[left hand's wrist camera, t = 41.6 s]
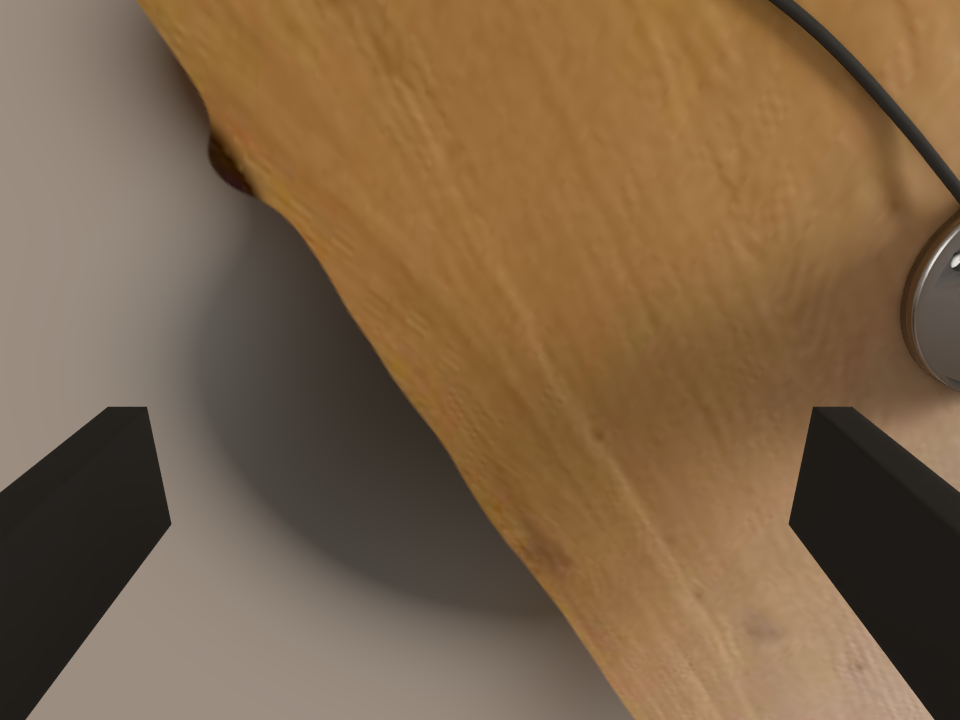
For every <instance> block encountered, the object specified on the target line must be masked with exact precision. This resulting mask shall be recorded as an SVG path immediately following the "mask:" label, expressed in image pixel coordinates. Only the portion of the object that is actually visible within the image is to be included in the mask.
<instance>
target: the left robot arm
mask: <svg viewBox="0 0 960 720" xmlns="http://www.w3.org/2000/svg"><path fill="white" fill-rule="evenodd" d="M769 1H770V2H772V3H773V4H774V5H775V6H777V7H778V8H779V9H780V10H782V11H783V12H784V13H785V14H787V15H788V16H789V17H790V18H792V19H793V20H794V21H795V22H797V23H798V24H799V25H800V26H801V27H802V28H804V29H805V30H806V31H807V32H808V33H809V34H810V35H811V36H813V37H814V38H815V39H816V40H817V41H818V42H819V43H820V44H821V45H822V46H823V47H824V48H825V49H826V50H827V51H828V52H829V53H830V54H831V55H832V56H834V57H835V58H836V59H837V60H838V61H839V62H840V63H841V64H842V66H843V67H844V68H845V69H846V70H847V71H848V72H849V73H850V74H851V75H852V76H853V77H854V78H855V79H856V80H857V81H858V82H859V83H860V84H861V86H862V87H863V88H864V89H865V90H866V91H867V92H868V93H869V94H870V95H871V97H872V98H873V99H874V100H875V101H876V102H877V103H878V105H879V106H880V107H881V108H882V109H883V110H884V111H885V113H886V114H887V115H888V116H889V117H890V118H891V119H892V121H893V122H894V123H895V124H896V125H897V126H898V128H899V129H900V130H901V131H902V132H903V133H904V135H905V136H906V137H907V138H908V139H909V141H910V142H911V143H912V144H913V145H914V147H915V148H916V149H917V150H918V152H919V153H920V154H921V156H922V157H923V158H924V159H925V161H926V162H927V163H928V164H929V166H930V167H931V168H932V170H933V171H934V172H935V173H936V175H937V176H938V177H939V178H940V180H941V181H942V182H943V183H944V185H945V186H946V187H947V188H948V190H949V191H950V192H951V194H952V195H953V196H954V197H955V199H956V200H957V201H958V202H959V204H960V181H959V180H958V179H957V177H956V176H955V175H954V174H953V172H952V171H951V170H950V169H949V167H948V166H947V165H946V163H945V162H944V161H943V160H942V158H941V157H940V156H939V155H938V153H937V152H936V151H935V149H934V148H933V147H932V146H931V144H930V143H929V142H928V141H927V139H926V138H925V137H924V136H923V134H922V133H921V132H920V131H919V130H918V128H917V127H916V126H915V125H914V124H913V122H912V121H911V120H910V119H909V118H908V117H907V115H906V114H905V113H904V112H903V111H902V110H901V108H900V107H899V106H898V105H897V104H896V103H895V101H894V100H893V99H892V98H891V97H890V96H889V94H888V93H887V92H886V91H885V90H884V89H883V88H882V86H881V85H880V84H879V83H878V82H877V81H876V80H875V79H874V77H873V76H872V75H871V74H870V73H869V72H868V71H867V70H866V69H865V68H864V67H863V66H862V64H861V63H860V62H859V61H858V60H857V59H856V58H855V57H854V56H853V55H852V54H851V53H850V52H849V51H848V50H847V49H846V48H845V47H844V46H843V45H842V44H841V43H840V42H839V41H838V40H837V39H836V38H835V37H834V36H833V35H832V34H831V33H830V32H829V31H828V30H827V29H825V28H824V27H823V26H822V25H821V24H820V23H819V22H818V21H817V20H816V19H814V18H813V17H812V16H811V15H810V14H809V13H807V12H806V11H805V10H804V9H803V8H801V7H800V6H799V5H798V4H797V3H795V2H794V1H793V0H769ZM901 328H902V333H903V337H904V340H905V343H906V346H907V348H908V350H909V352H910V354H911V355H912V357H913V358H914V360H915V361H916V362H917V364H918V365H919V366H920V367H921V368H922V369H923V370H924V371H925V372H927V373H928V374H929V375H931V376H932V377H934V378H935V379H937V380H939V381H940V382H942V383H944V384H945V385H947V386H949V387H951V388H952V389H954V390H956V391H958V392H960V210H959V211H958V212H957V213H955V214H954V215H953V216H952V217H951V218H949V219H948V220H947V221H946V222H945V223H944V224H943V225H942V226H941V227H940V228H939V229H938V230H937V231H936V233H935V234H934V235H933V236H932V237H931V238H930V240H929V241H928V242H927V244H926V245H925V246H924V248H923V249H922V251H921V252H920V254H919V255H918V257H917V259H916V261H915V263H914V265H913V266H912V269H911V271H910V273H909V276H908V278H907V281H906V284H905V287H904V291H903V296H902V302H901ZM170 525H171V520H170V515H169V510H168V506H167V501H166V496H165V491H164V487H163V482H162V477H161V472H160V467H159V462H158V458H157V453H156V448H155V443H154V439H153V434H152V429H151V424H150V420H149V415H148V410H147V407H107V408H106V409H105V410H103V411H102V412H101V413H100V414H98V415H97V416H96V417H95V418H93V419H92V420H91V421H90V422H88V423H87V424H86V425H85V426H83V427H82V428H81V429H80V430H78V431H77V432H76V433H75V434H73V435H72V436H71V437H69V438H68V439H67V440H66V441H64V442H63V443H62V444H61V445H59V446H58V447H57V448H56V449H54V450H53V451H52V452H51V453H49V454H48V455H47V456H46V457H44V458H43V459H42V460H41V461H39V462H38V463H37V464H36V465H34V466H33V467H32V468H31V469H29V470H28V471H27V472H25V473H24V474H23V475H22V476H20V477H19V478H18V479H17V480H15V481H14V482H13V483H12V484H10V485H9V486H8V487H7V488H5V489H4V490H3V491H2V492H0V720H26V718H27V717H28V716H29V714H30V713H31V711H32V710H33V709H34V708H35V706H36V705H37V704H38V702H39V701H40V699H41V698H42V697H43V695H44V694H45V693H46V691H47V690H48V689H49V687H50V686H51V685H52V683H53V682H54V681H55V679H56V678H57V677H58V675H59V674H60V673H61V671H62V670H63V669H64V667H65V666H66V665H67V663H68V662H69V661H70V659H71V658H72V657H73V655H74V654H75V653H76V651H77V650H78V648H79V647H80V646H81V645H82V643H83V642H84V640H85V639H86V638H87V637H88V635H89V634H90V632H91V631H92V630H93V628H94V627H95V626H96V624H97V623H98V622H99V620H100V619H101V618H102V616H103V615H104V614H105V612H106V611H107V610H108V608H109V607H110V606H111V604H112V603H113V602H114V600H115V599H116V598H117V596H118V595H119V594H120V592H121V591H122V590H123V588H124V587H125V586H126V584H127V583H128V582H129V580H130V579H131V578H132V576H133V575H134V574H135V572H136V571H137V570H138V568H139V567H140V566H141V564H142V563H143V561H144V560H145V559H146V557H147V556H148V555H149V554H150V552H151V551H152V549H153V548H154V547H155V545H156V544H157V543H158V541H159V540H160V539H161V537H162V536H163V535H164V533H165V532H166V531H167V529H168V528H169V527H170ZM789 525H790V527H791V528H792V529H793V531H794V532H795V533H796V535H797V536H798V537H799V539H800V540H801V541H802V543H803V544H804V545H805V547H806V548H807V549H808V551H809V552H810V554H811V555H812V556H813V558H814V559H815V560H816V562H817V563H818V564H819V566H820V567H821V568H822V570H823V571H824V572H825V574H826V575H827V576H828V578H829V579H830V580H831V582H832V583H833V584H834V586H835V587H836V588H837V590H838V591H839V592H840V594H841V595H842V596H843V598H844V599H845V600H846V602H847V603H848V604H849V606H850V607H851V608H852V610H853V611H854V612H855V614H856V615H857V616H858V618H859V619H860V620H861V622H862V623H863V624H864V626H865V627H866V629H867V630H868V631H869V633H870V634H871V635H872V637H873V638H874V639H875V641H876V642H877V643H878V645H879V646H880V647H881V649H882V650H883V651H884V653H885V654H886V655H887V657H888V658H889V659H890V661H891V662H892V663H893V665H894V666H895V667H896V669H897V670H898V671H899V673H900V674H901V675H902V677H903V678H904V679H905V681H906V682H907V683H908V685H909V686H910V687H911V689H912V690H913V691H914V693H915V694H916V695H917V697H918V698H919V699H920V701H921V702H922V704H923V705H924V706H925V708H926V709H927V710H928V712H929V713H930V714H931V716H932V717H933V718H934V720H960V492H958V491H957V490H956V489H955V488H953V487H952V486H951V485H950V484H948V483H947V482H946V481H945V480H943V479H942V478H941V477H940V476H938V475H937V474H936V473H935V472H933V471H932V470H931V469H930V468H928V467H927V466H926V465H924V464H923V463H922V462H921V461H919V460H918V459H917V458H916V457H914V456H913V455H912V454H911V453H909V452H908V451H907V450H906V449H904V448H903V447H902V446H901V445H899V444H898V443H897V442H896V441H894V440H893V439H892V438H891V437H889V436H888V435H887V434H886V433H884V432H883V431H882V430H880V429H879V428H878V427H877V426H875V425H874V424H873V423H872V422H870V421H869V420H868V419H867V418H865V417H864V416H863V415H862V414H860V413H859V412H858V411H857V410H855V409H854V408H853V407H813V410H812V415H811V419H810V424H809V429H808V434H807V439H806V443H805V448H804V453H803V458H802V462H801V467H800V472H799V477H798V482H797V486H796V491H795V496H794V501H793V506H792V510H791V515H790V520H789Z"/></svg>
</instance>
